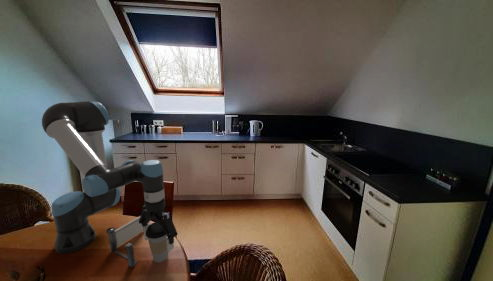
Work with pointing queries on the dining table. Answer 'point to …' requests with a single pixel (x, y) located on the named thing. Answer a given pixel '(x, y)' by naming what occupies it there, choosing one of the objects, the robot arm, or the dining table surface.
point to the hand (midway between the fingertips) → (158, 243)
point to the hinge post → (112, 239)
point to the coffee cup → (157, 242)
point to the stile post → (130, 255)
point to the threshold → (123, 255)
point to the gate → (128, 231)
